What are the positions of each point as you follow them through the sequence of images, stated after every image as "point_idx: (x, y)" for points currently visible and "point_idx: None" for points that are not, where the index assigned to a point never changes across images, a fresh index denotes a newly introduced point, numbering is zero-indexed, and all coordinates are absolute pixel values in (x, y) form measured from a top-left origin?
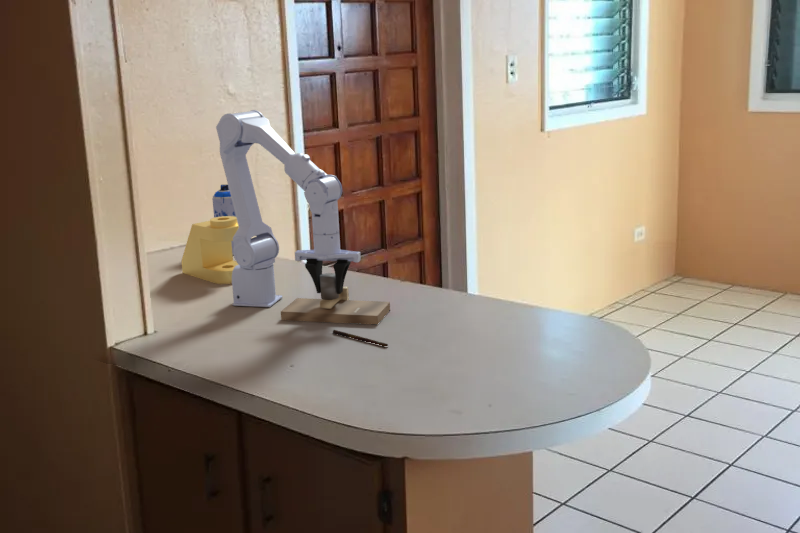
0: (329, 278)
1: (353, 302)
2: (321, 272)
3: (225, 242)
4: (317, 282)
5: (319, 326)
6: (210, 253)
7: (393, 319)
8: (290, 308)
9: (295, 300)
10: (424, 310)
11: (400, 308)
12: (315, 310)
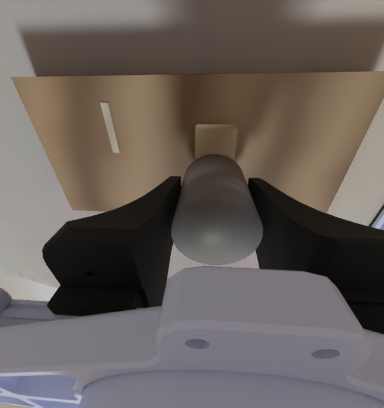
0: (198, 198)
1: None
2: (261, 262)
3: None
4: (266, 193)
5: (213, 17)
6: None
7: (33, 136)
8: (349, 118)
9: (328, 199)
10: (19, 204)
11: (73, 211)
12: (249, 107)
